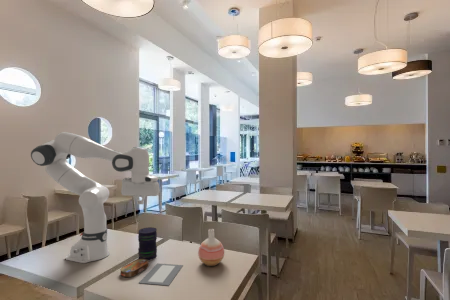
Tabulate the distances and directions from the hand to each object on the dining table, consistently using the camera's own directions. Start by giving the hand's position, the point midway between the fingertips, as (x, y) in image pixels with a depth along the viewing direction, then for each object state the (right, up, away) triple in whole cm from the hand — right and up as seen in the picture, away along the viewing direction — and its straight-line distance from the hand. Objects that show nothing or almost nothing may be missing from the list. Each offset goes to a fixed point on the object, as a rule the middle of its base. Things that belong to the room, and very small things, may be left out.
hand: (140, 204), depth 128 cm
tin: (+4, -30, -10) cm, 32 cm away
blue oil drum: (+1, -31, +8) cm, 32 cm away
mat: (+15, -31, -12) cm, 36 cm away
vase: (+37, -31, -1) cm, 49 cm away
